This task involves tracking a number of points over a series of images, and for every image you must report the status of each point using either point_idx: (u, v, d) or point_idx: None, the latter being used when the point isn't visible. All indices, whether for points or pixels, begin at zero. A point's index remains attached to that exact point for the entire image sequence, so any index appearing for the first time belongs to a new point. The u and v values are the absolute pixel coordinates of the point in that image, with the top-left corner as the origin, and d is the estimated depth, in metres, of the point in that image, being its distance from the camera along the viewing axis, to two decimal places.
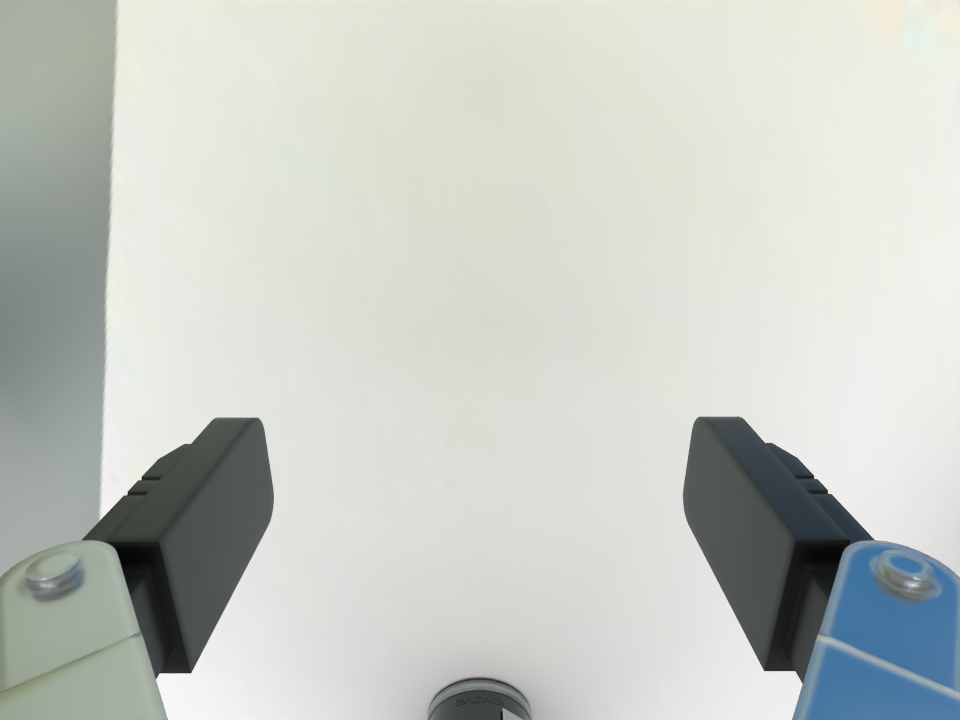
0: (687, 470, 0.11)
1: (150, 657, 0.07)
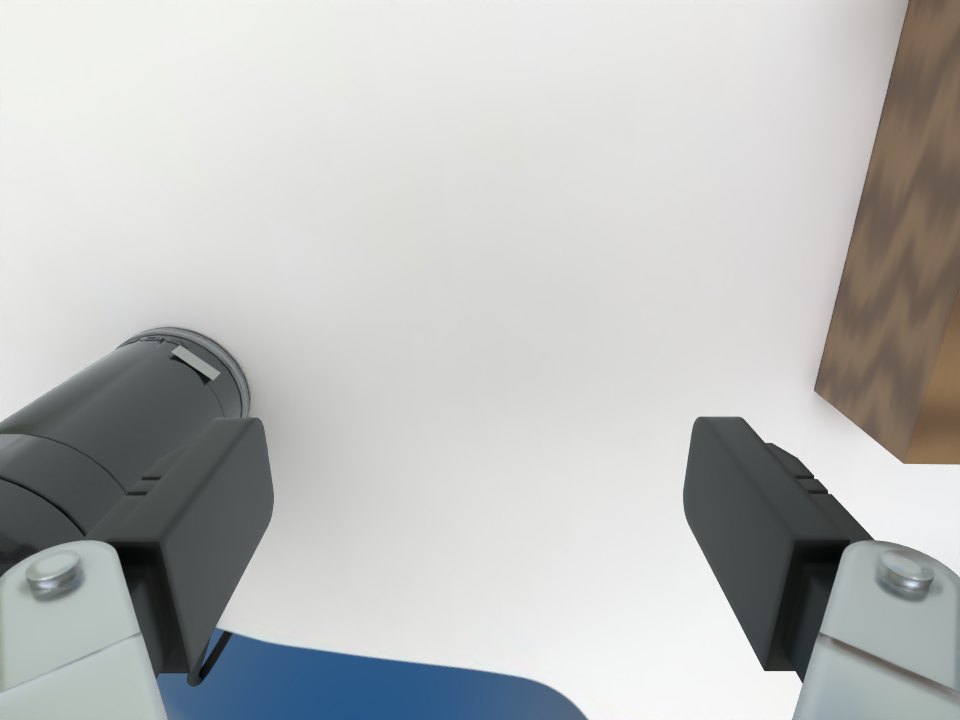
0: (687, 470, 0.11)
1: (150, 657, 0.07)
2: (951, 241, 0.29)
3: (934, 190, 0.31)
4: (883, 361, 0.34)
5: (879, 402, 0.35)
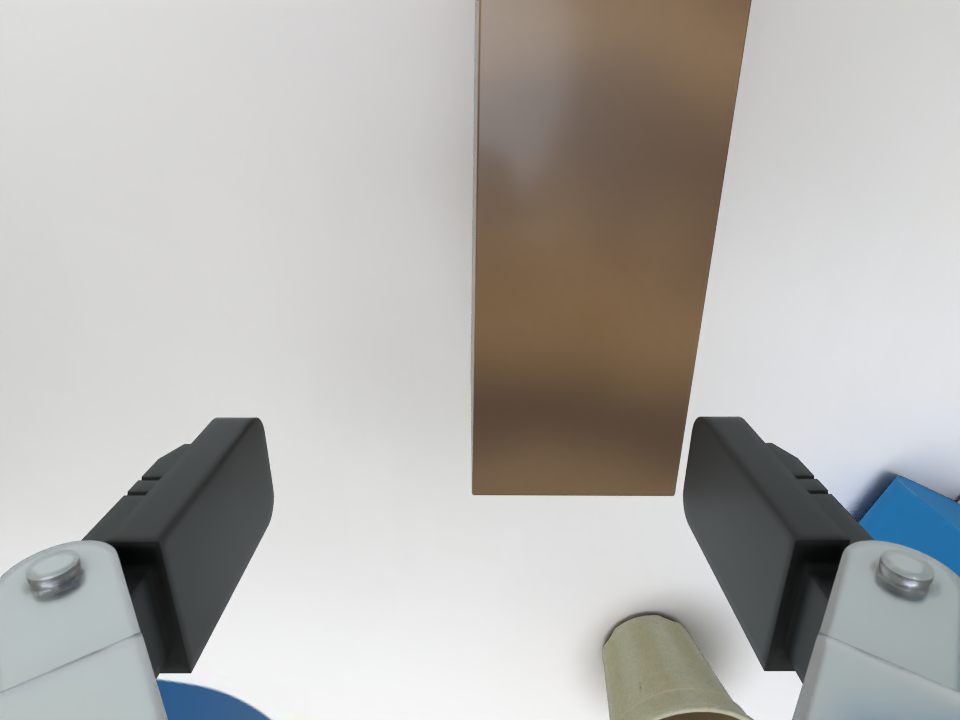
0: (687, 470, 0.11)
1: (150, 657, 0.07)
2: None
3: None
4: None
5: None
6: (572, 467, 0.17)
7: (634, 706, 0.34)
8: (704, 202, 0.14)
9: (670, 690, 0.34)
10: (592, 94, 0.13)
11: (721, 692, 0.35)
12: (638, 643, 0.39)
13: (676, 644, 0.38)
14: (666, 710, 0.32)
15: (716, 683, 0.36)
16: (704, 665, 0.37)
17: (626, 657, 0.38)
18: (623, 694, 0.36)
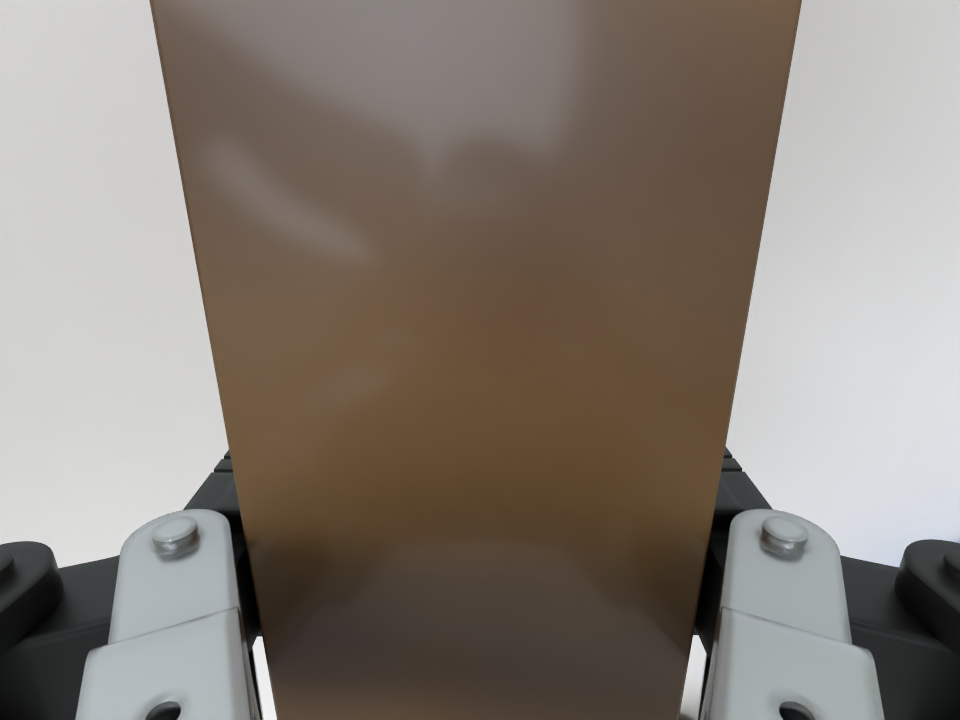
0: None
1: (251, 626, 0.08)
2: None
3: None
4: None
5: None
6: None
7: None
8: (726, 229, 0.06)
9: None
10: None
11: None
12: None
13: None
14: None
15: None
16: None
17: None
18: None
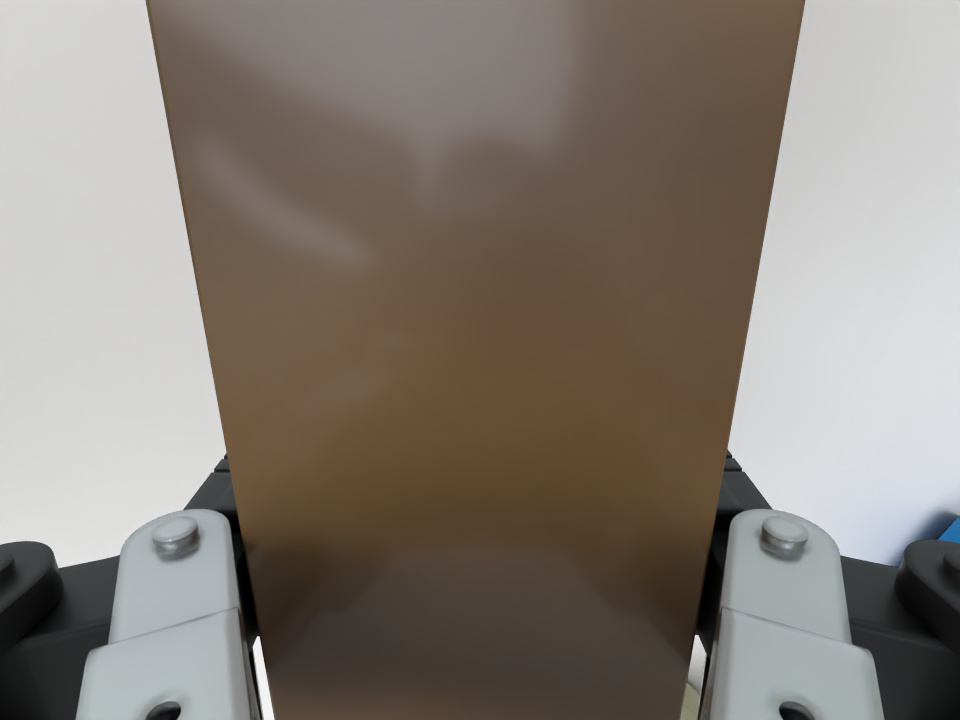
0: None
1: (252, 626, 0.08)
2: None
3: None
4: None
5: None
6: None
7: None
8: (728, 231, 0.06)
9: None
10: None
11: None
12: None
13: (683, 715, 0.32)
14: None
15: None
16: None
17: None
18: None
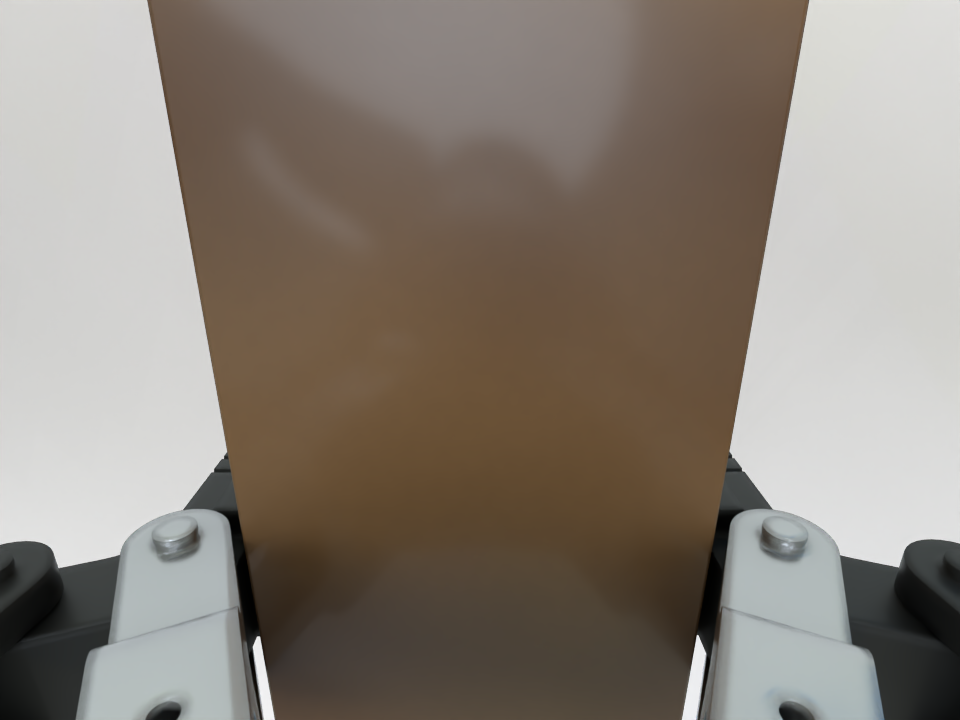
0: None
1: (251, 626, 0.08)
2: None
3: None
4: None
5: None
6: None
7: None
8: (730, 232, 0.06)
9: None
10: None
11: None
12: None
13: None
14: None
15: None
16: None
17: None
18: None
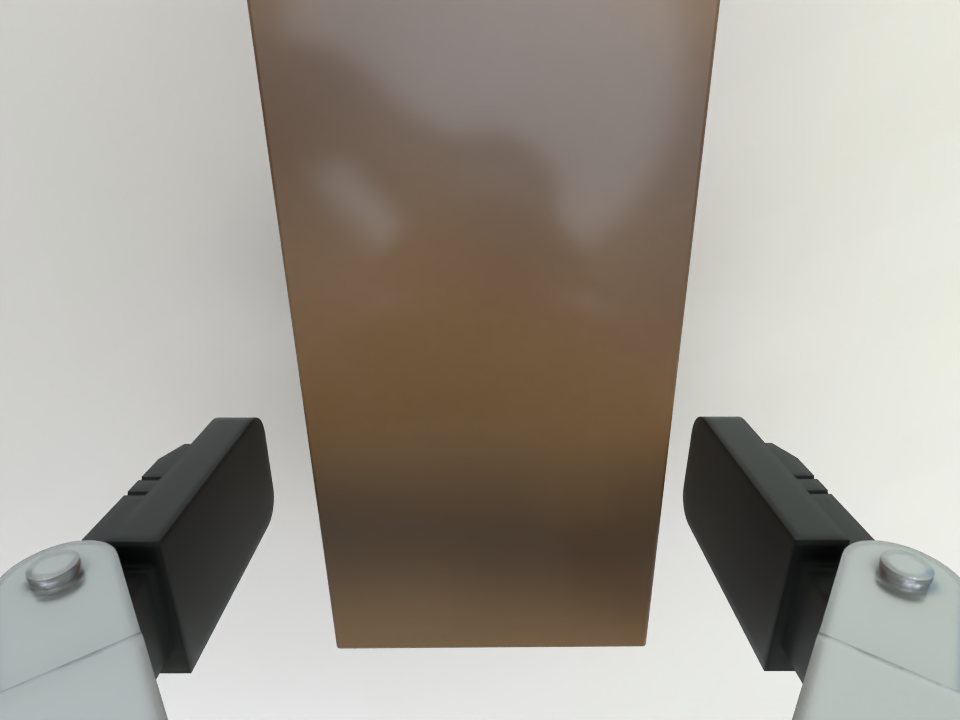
0: (687, 470, 0.11)
1: (150, 657, 0.07)
2: None
3: None
4: None
5: None
6: (484, 609, 0.11)
7: None
8: (670, 197, 0.08)
9: None
10: (454, 8, 0.07)
11: None
12: None
13: None
14: None
15: None
16: None
17: None
18: None
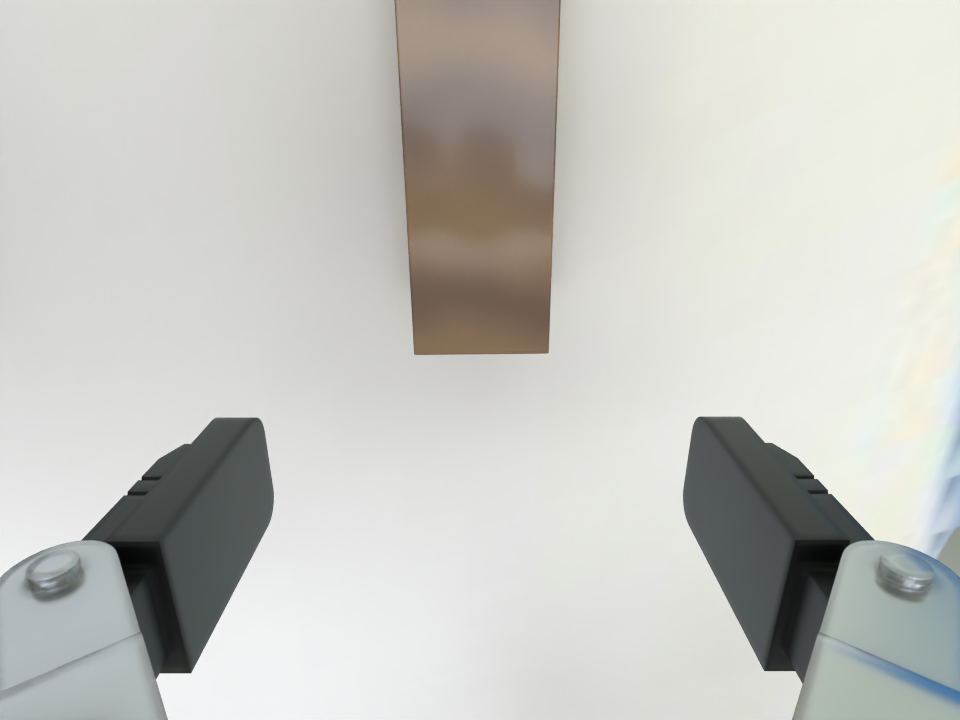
0: (687, 470, 0.11)
1: (150, 657, 0.07)
2: None
3: None
4: None
5: None
6: (478, 333, 0.26)
7: None
8: (545, 153, 0.23)
9: None
10: (469, 88, 0.22)
11: None
12: None
13: None
14: None
15: None
16: None
17: None
18: None
